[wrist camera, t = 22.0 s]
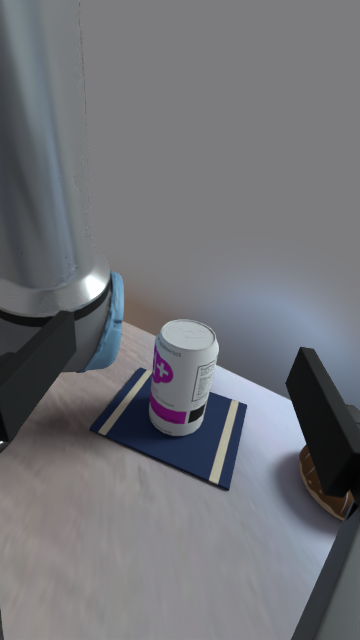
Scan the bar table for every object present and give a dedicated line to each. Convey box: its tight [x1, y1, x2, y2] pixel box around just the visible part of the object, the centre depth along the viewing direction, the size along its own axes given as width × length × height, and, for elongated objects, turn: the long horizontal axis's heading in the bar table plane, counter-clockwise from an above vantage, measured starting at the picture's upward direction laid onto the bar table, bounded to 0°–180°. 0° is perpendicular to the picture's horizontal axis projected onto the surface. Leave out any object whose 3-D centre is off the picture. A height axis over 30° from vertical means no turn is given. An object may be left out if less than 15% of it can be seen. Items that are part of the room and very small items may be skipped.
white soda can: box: [149, 319, 219, 436], centre depth 38 cm, size 8×8×15 cm
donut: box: [299, 444, 354, 521], centre depth 35 cm, size 11×11×4 cm
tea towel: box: [90, 368, 247, 491], centre depth 42 cm, size 20×15×1 cm
